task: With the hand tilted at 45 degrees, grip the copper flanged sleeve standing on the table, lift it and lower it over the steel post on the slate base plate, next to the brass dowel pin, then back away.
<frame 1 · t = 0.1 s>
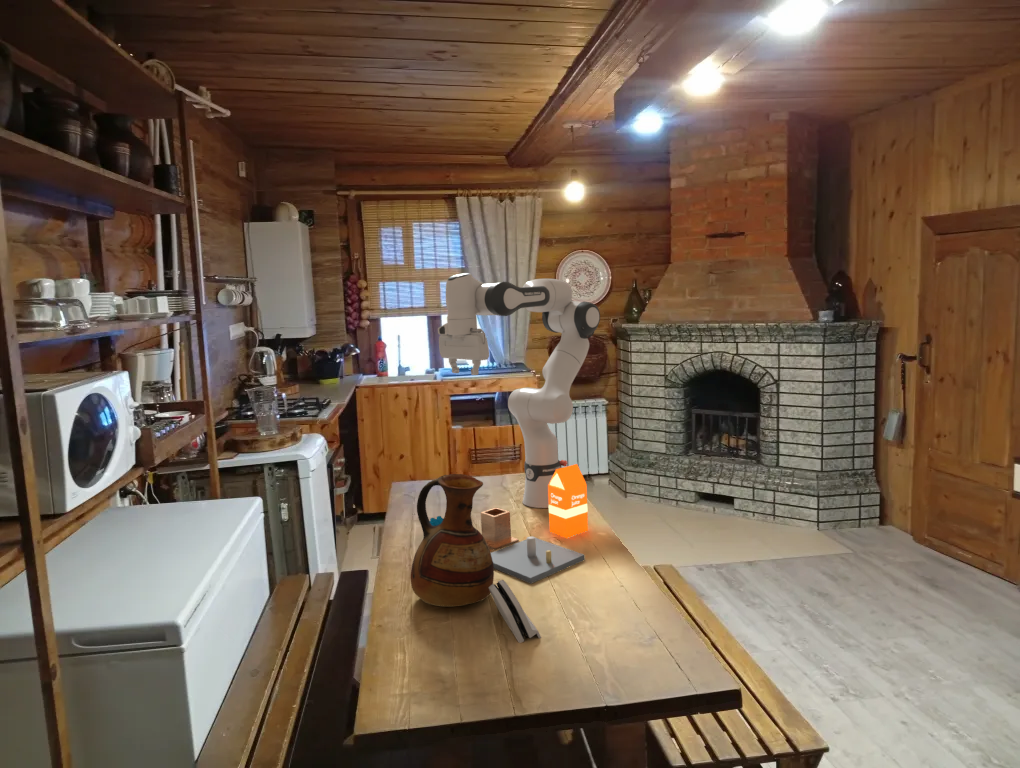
hand: (465, 374, 210), 48 cm above the table, tool pointing down, fingers open, 8 cm apart
gear: (441, 537, 209), on the table
base plate: (532, 561, 187), on the table
half-moon napkin holder: (512, 625, 153), on the table
orange juice: (569, 532, 208), on the table
ceramic pitcher: (453, 598, 167), on the table
copper sleeve: (496, 541, 203), on the table
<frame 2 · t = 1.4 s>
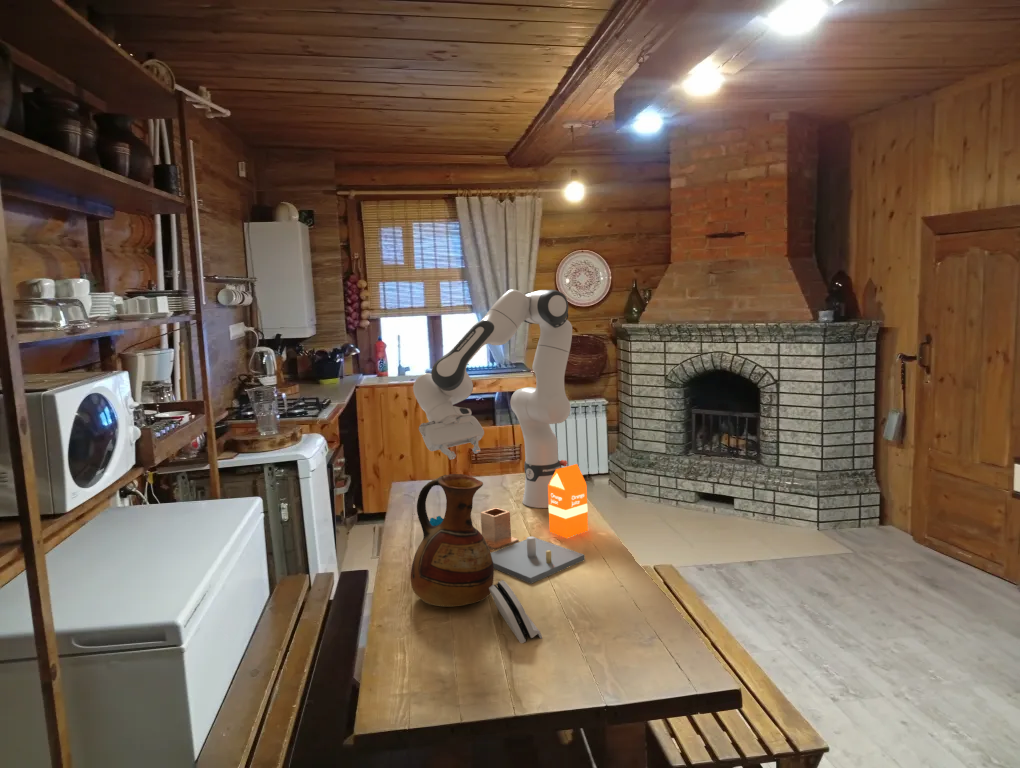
hand: (465, 455, 208), 24 cm above the table, tool tilted 45°, fingers open, 8 cm apart
nothing on the table moved.
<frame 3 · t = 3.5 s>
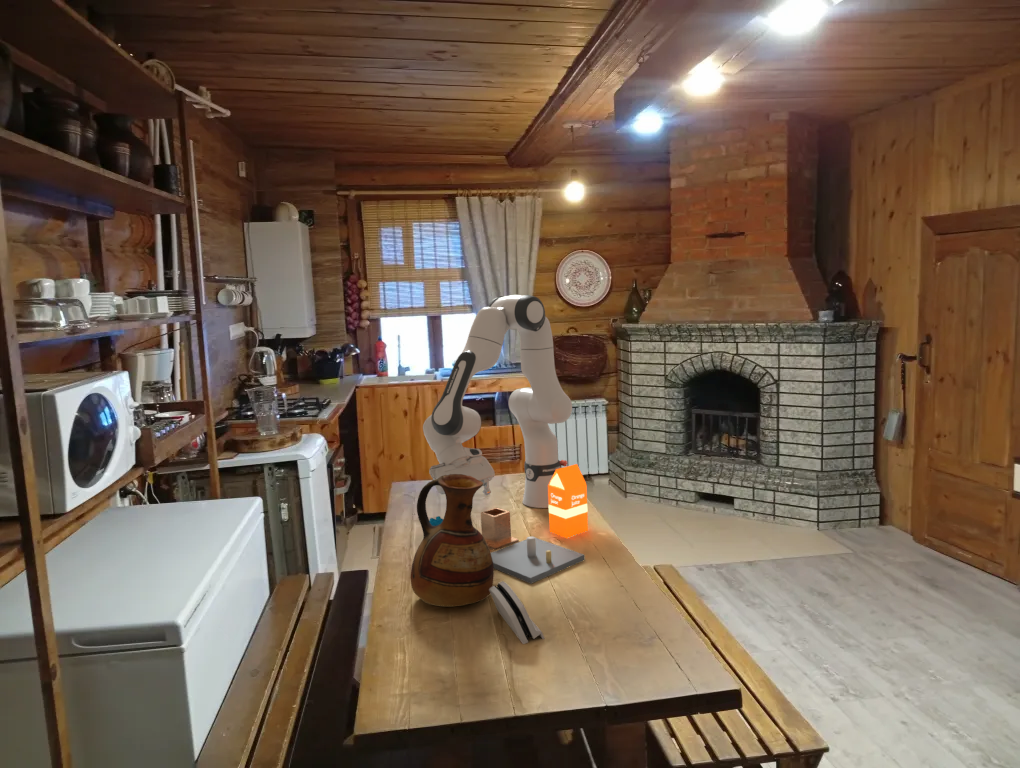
hand: (476, 497, 207), 12 cm above the table, tool tilted 45°, fingers open, 8 cm apart
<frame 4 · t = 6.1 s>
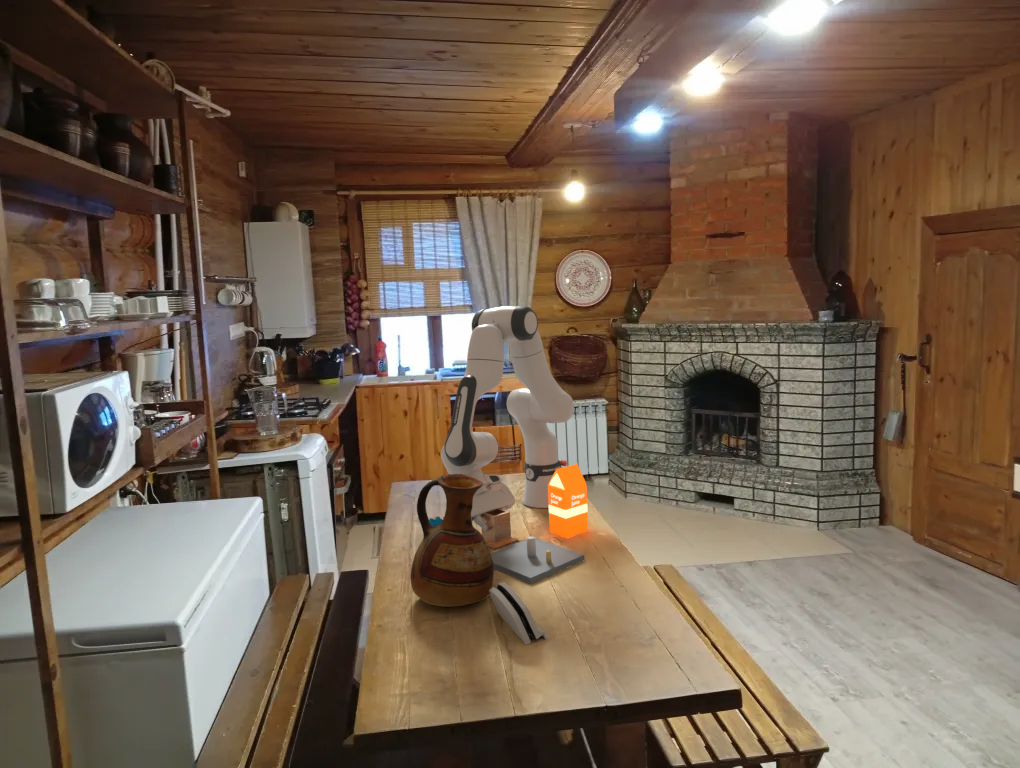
hand: (497, 526, 201), 5 cm above the table, tool tilted 45°, fingers closed on copper sleeve, 6 cm apart
copper sleeve: (496, 541, 203), on the table, touching gripper
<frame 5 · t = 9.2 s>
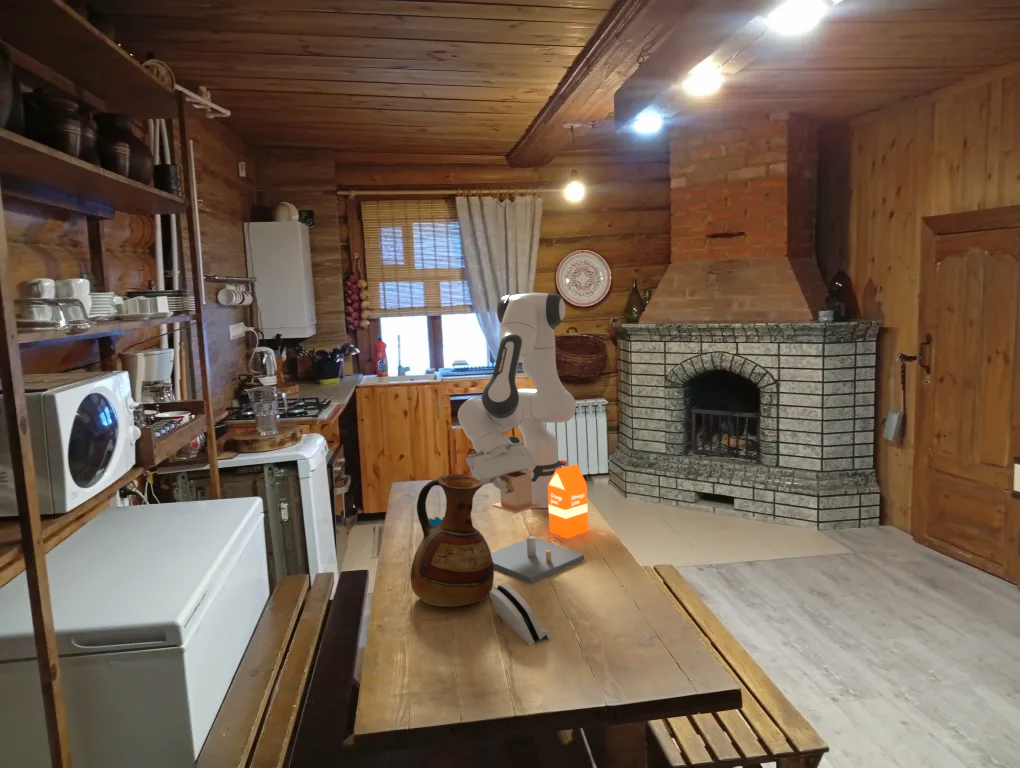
hand: (517, 489, 188), 19 cm above the table, tool tilted 45°, fingers closed on copper sleeve, 6 cm apart
copper sleeve: (516, 506, 190), point 14 cm above the table, touching gripper
when the fingers open (8 cm above the table, at t = 12.8 s): copper sleeve drops 1 cm, resting on base plate.
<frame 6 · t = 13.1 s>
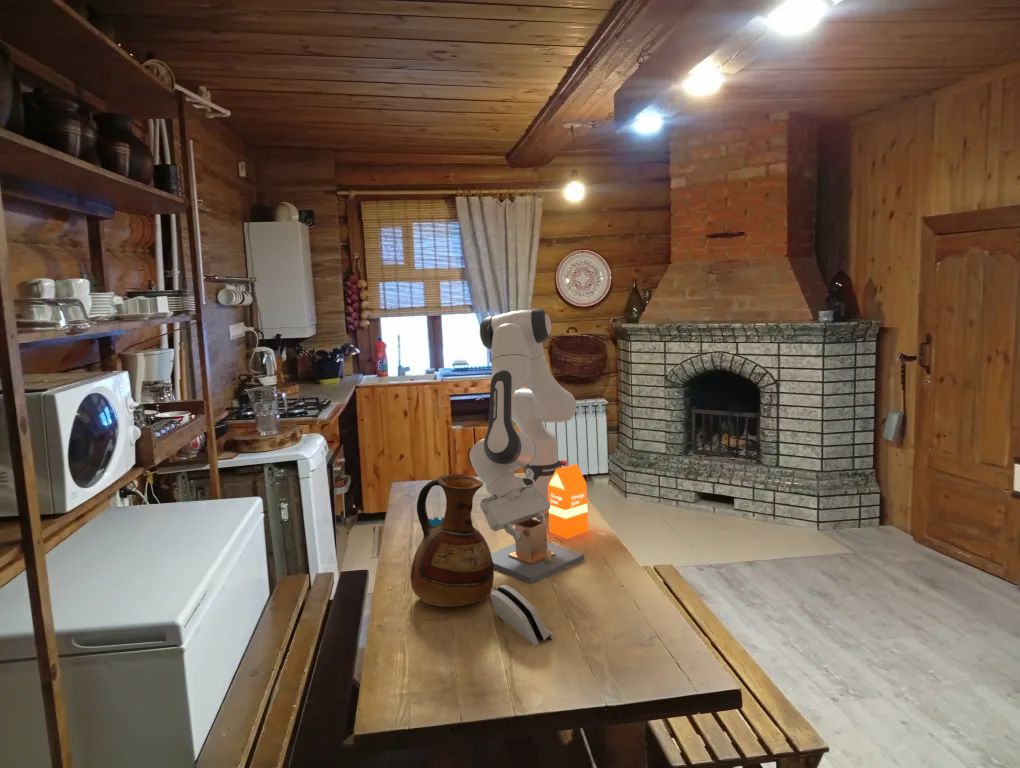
hand: (532, 534, 186), 8 cm above the table, tool tilted 45°, fingers open, 8 cm apart
copper sleeve: (531, 555, 187), point 1 cm above the table, touching base plate
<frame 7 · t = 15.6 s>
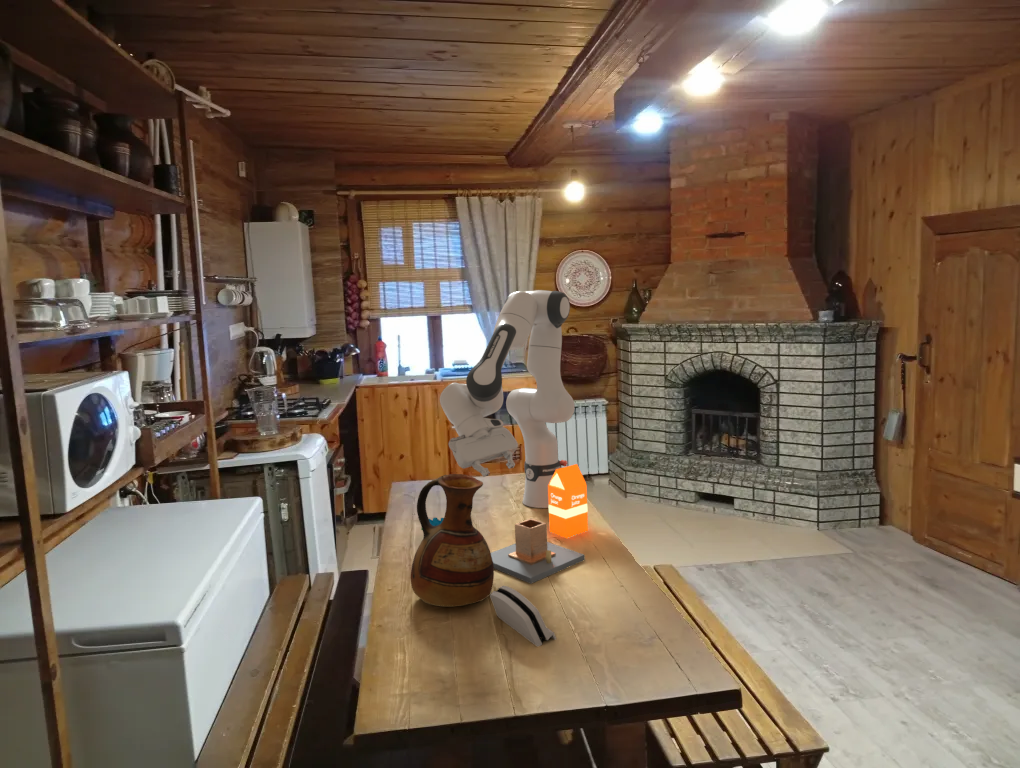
hand: (499, 471, 193), 23 cm above the table, tool tilted 45°, fingers open, 8 cm apart
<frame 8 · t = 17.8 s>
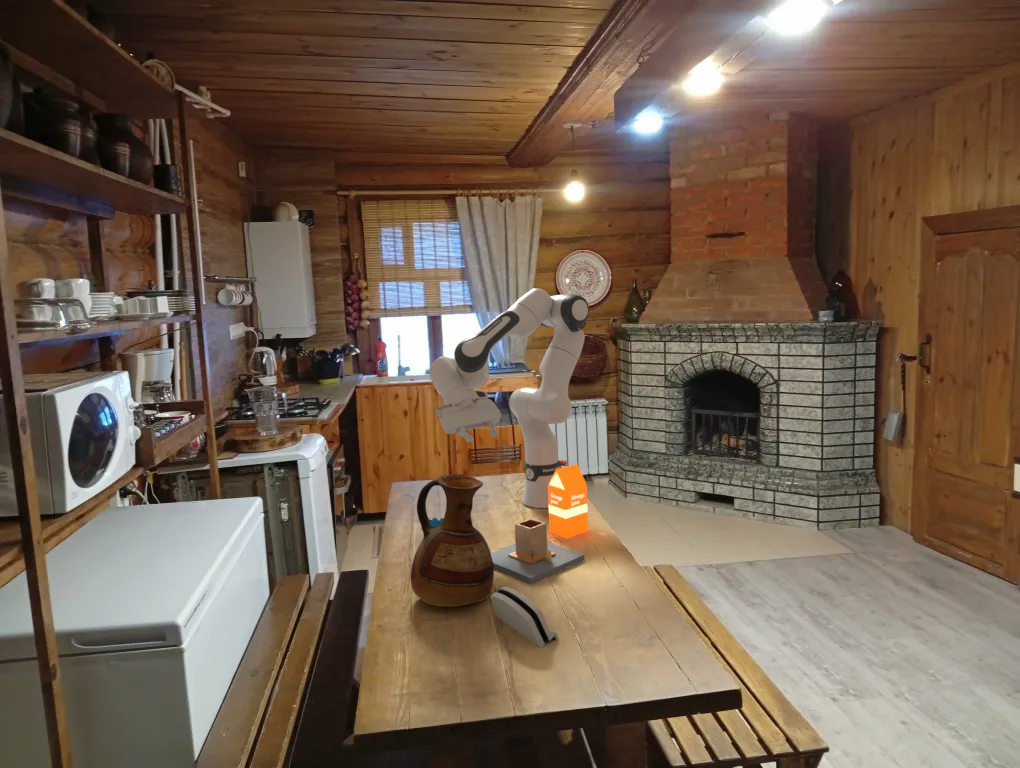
hand: (483, 438, 206), 29 cm above the table, tool tilted 45°, fingers open, 8 cm apart
at the end: copper sleeve 0.1 cm from the base plate (horizontally); copper sleeve point 1.5 cm above the table; copper sleeve tilted 0° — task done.
